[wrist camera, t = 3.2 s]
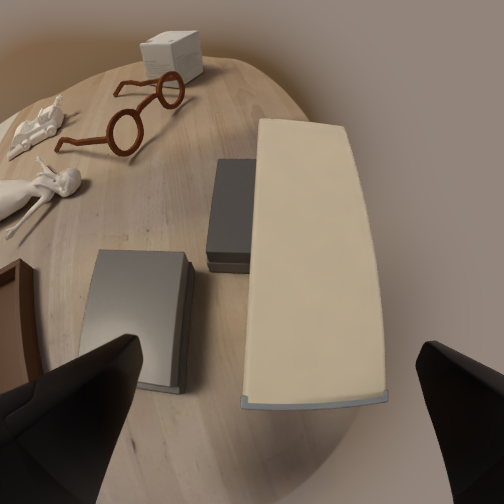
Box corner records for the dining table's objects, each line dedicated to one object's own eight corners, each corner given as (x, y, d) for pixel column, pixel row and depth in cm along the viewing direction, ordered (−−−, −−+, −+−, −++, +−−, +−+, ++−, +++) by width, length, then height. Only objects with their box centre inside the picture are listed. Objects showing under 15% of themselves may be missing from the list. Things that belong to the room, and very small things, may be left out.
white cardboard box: (204, 72, 33) (200, 30, 27) (178, 89, 31) (171, 43, 24) (173, 68, 34) (167, 30, 28) (147, 85, 32) (138, 44, 25)
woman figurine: (-15, 162, 20) (88, 125, 22) (-1, 182, 24) (99, 154, 26) (-49, 238, 15) (54, 213, 17) (-28, 256, 19) (77, 241, 21)
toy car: (16, 141, 28) (5, 123, 25) (72, 110, 31) (63, 89, 27) (6, 164, 26) (-7, 145, 22) (66, 130, 28) (55, 107, 24)
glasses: (124, 168, 24) (107, 130, 19) (55, 153, 26) (39, 125, 21) (188, 98, 29) (184, 65, 25) (116, 94, 31) (107, 67, 27)
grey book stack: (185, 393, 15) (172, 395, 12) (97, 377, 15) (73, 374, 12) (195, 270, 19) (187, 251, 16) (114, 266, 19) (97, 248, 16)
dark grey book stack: (302, 274, 19) (311, 255, 16) (209, 272, 19) (202, 252, 16) (295, 182, 23) (300, 157, 20) (219, 180, 23) (216, 154, 20)
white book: (287, 390, 15) (388, 401, 4) (246, 388, 15) (239, 409, 4) (289, 286, 18) (346, 125, 7) (252, 284, 18) (258, 116, 7)
